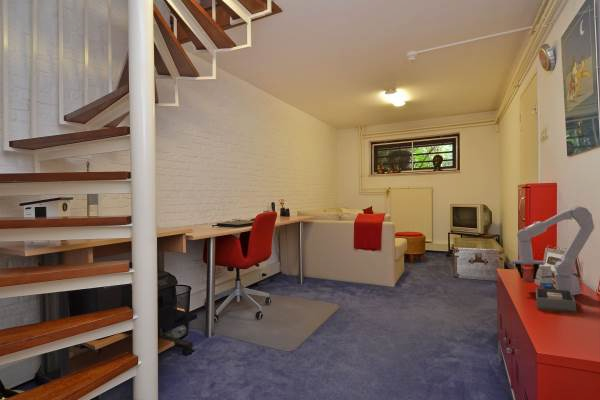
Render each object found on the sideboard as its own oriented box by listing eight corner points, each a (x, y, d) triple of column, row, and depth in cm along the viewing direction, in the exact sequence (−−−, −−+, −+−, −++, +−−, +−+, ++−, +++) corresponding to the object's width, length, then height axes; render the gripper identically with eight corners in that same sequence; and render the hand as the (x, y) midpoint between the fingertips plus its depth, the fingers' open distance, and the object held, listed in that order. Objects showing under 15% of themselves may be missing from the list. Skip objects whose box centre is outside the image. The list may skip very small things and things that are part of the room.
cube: (548, 303, 143) (547, 292, 143) (562, 304, 140) (561, 293, 140) (548, 306, 139) (547, 295, 139) (563, 308, 136) (562, 296, 136)
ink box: (553, 288, 166) (551, 265, 167) (543, 288, 167) (541, 266, 168) (544, 283, 175) (542, 262, 175) (534, 284, 176) (532, 263, 176)
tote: (536, 298, 153) (535, 287, 153) (572, 301, 145) (571, 290, 145) (537, 309, 139) (536, 297, 139) (576, 313, 131) (575, 301, 132)
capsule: (527, 279, 168) (526, 266, 168) (536, 281, 163) (535, 268, 163) (520, 281, 167) (519, 268, 167) (529, 283, 162) (527, 269, 162)
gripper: (508, 253, 166) (511, 279, 166) (543, 254, 158) (545, 281, 157) (509, 251, 172) (511, 276, 172) (542, 251, 163) (545, 277, 163)
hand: (528, 278), depth 165 cm, fingers closed on capsule, 5 cm apart
